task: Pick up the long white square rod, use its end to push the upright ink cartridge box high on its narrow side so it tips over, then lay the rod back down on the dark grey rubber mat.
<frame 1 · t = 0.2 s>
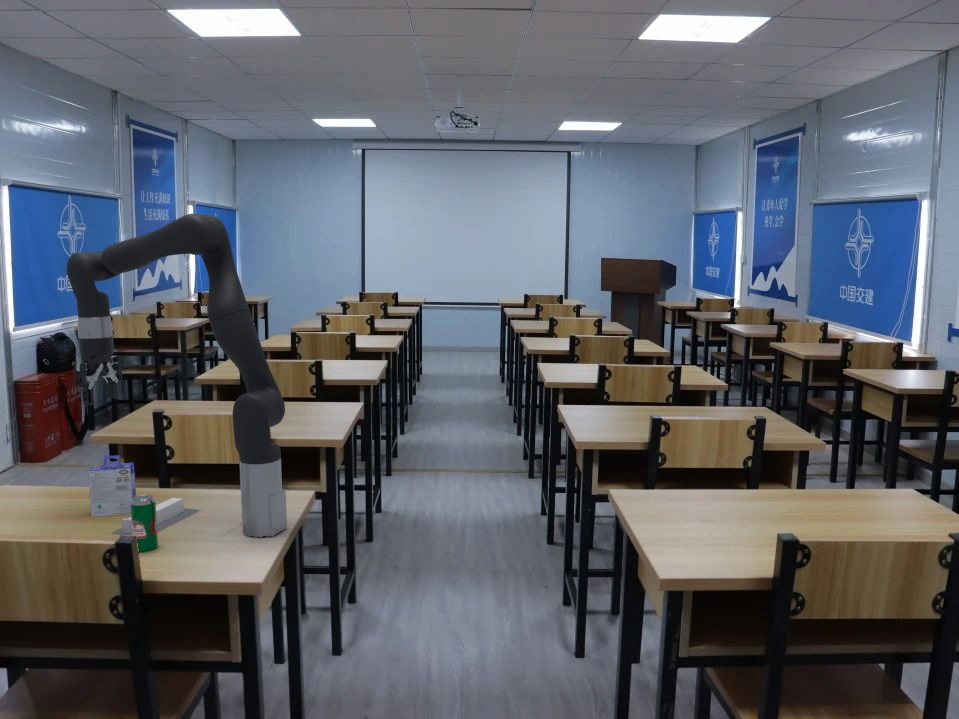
hand: (100, 401, 194), 28 cm above the table, tool pointing down, fingers open, 8 cm apart
white square rod: (157, 521, 190), point 1 cm above the table, touching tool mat
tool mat: (157, 523, 191), on the table
ink cartridge box: (114, 514, 198), on the table
soda can: (146, 551, 174), on the table
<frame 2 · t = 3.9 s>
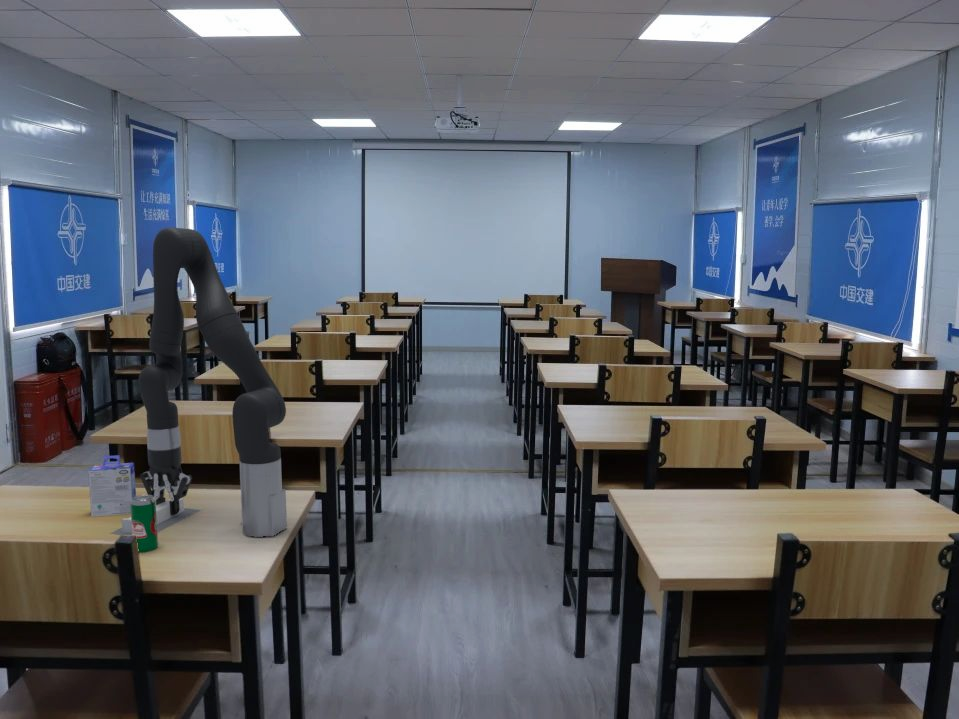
hand: (168, 513, 194), 1 cm above the table, tool pointing down, fingers closed on white square rod, 3 cm apart
white square rod: (157, 521, 190), point 1 cm above the table, touching gripper, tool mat
everything else where it was.
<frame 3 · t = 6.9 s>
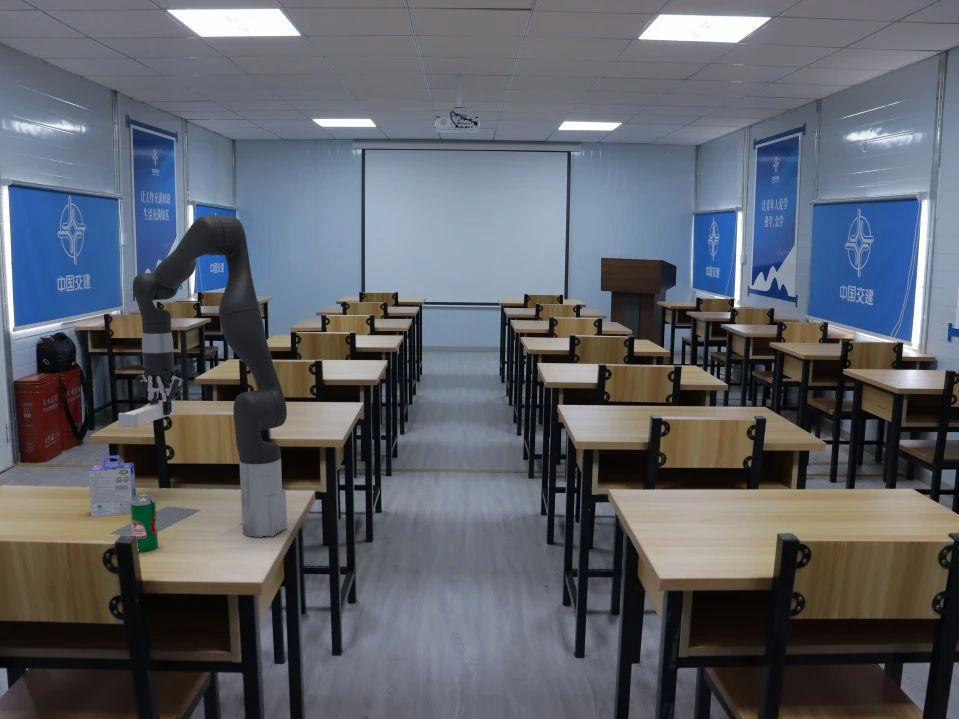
hand: (161, 413, 210), 22 cm above the table, tool pointing down, fingers closed on white square rod, 3 cm apart
white square rod: (151, 419, 206), point 21 cm above the table, touching gripper
everything else where it was.
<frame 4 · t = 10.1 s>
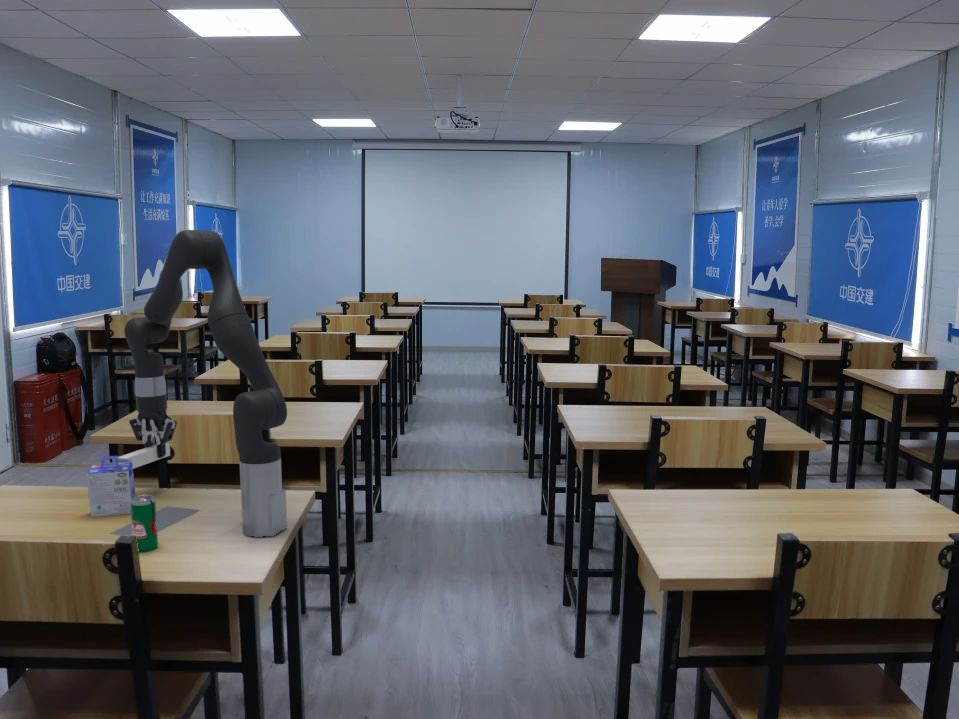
hand: (155, 456, 211), 11 cm above the table, tool pointing down, fingers closed on white square rod, 3 cm apart
white square rod: (145, 462, 207), point 10 cm above the table, touching ink cartridge box, gripper
ink cartridge box: (114, 512, 198), on the table, touching white square rod
everything else where it was.
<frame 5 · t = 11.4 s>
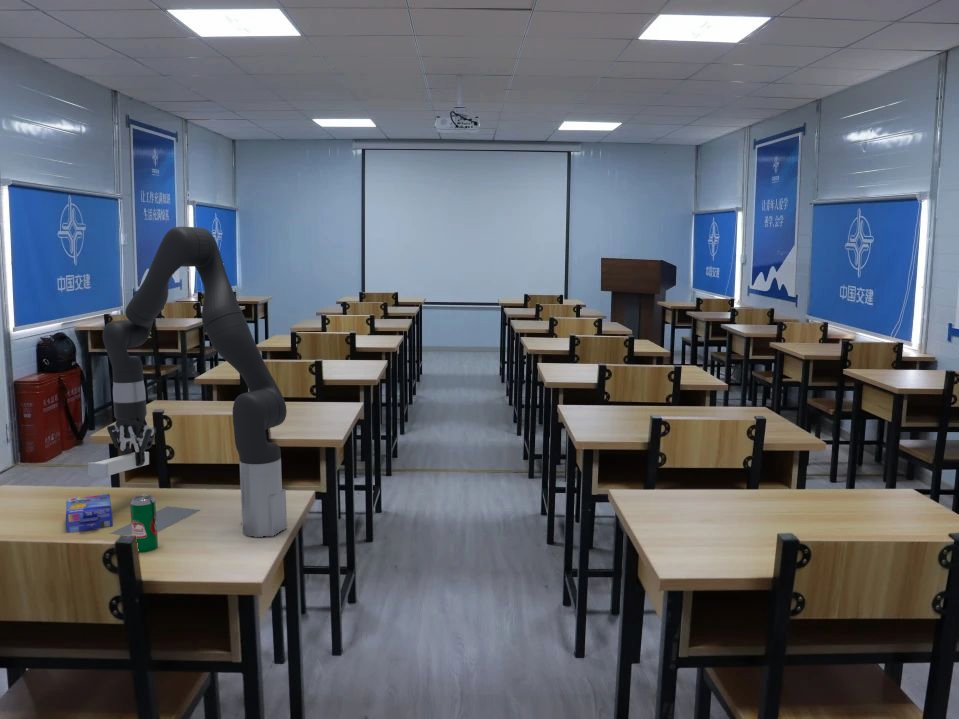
hand: (134, 464, 203), 11 cm above the table, tool pointing down, fingers closed on white square rod, 3 cm apart
white square rod: (122, 469, 199), point 10 cm above the table, touching gripper
ink cartridge box: (88, 505, 195), point 3 cm above the table
everything else where it was.
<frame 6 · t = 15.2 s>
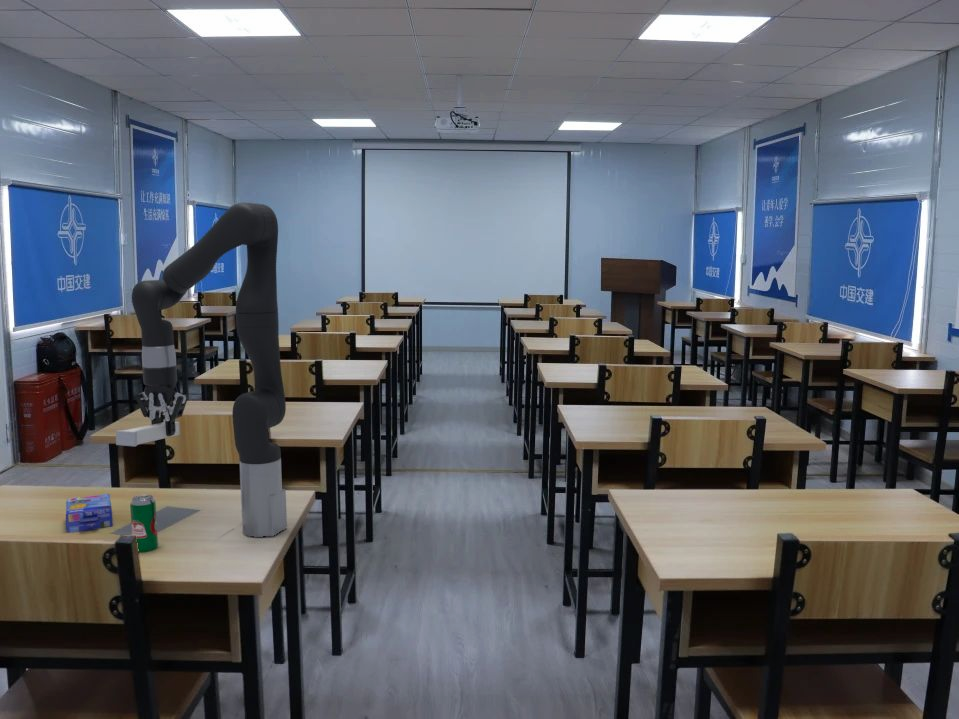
hand: (163, 434, 191), 21 cm above the table, tool pointing down, fingers closed on white square rod, 3 cm apart
white square rod: (152, 439, 187), point 21 cm above the table, touching gripper
everything else where it was.
when the fingers open (3 cm above the table, at t = 19.0 s): white square rod drops 2 cm, resting on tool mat.
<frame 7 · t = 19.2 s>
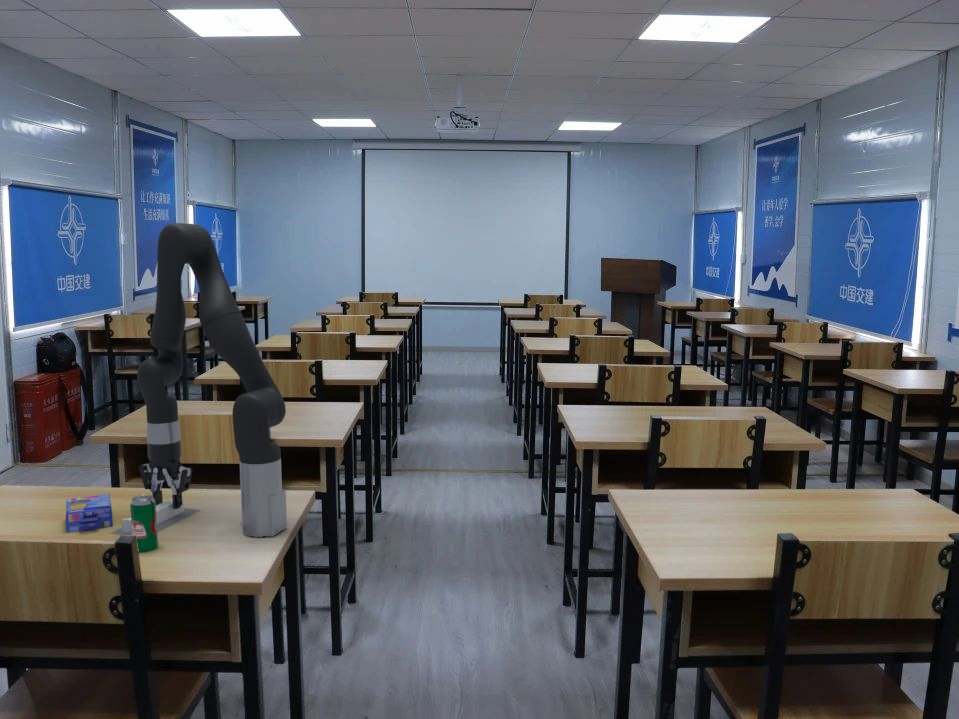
hand: (167, 506, 194), 3 cm above the table, tool pointing down, fingers open, 4 cm apart
white square rod: (157, 521, 190), point 1 cm above the table, touching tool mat
everything else where it was.
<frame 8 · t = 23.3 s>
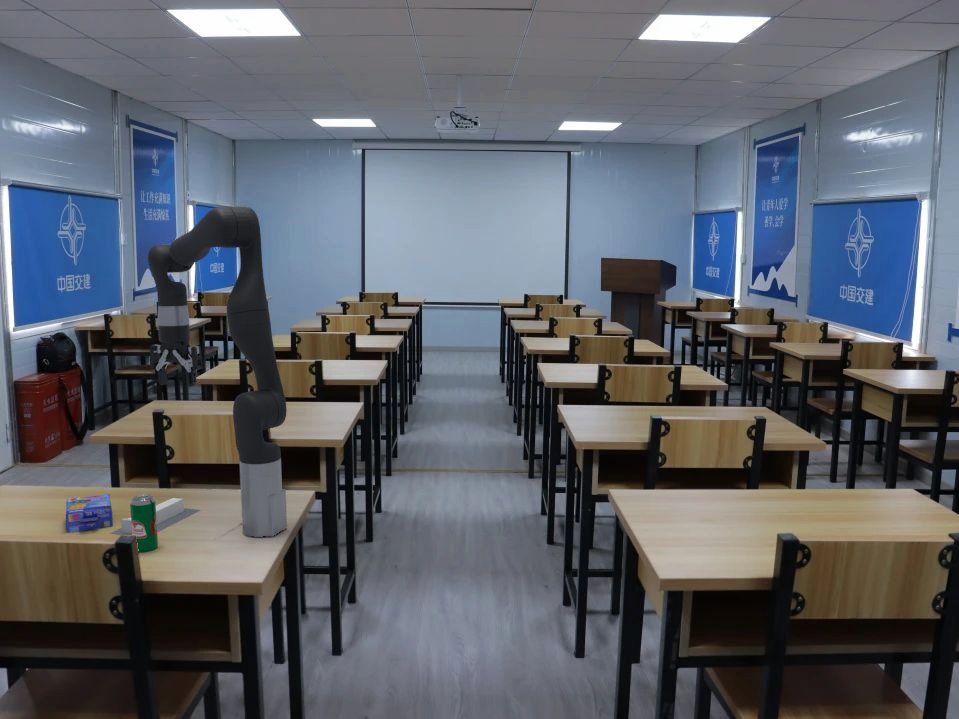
hand: (177, 385, 206), 30 cm above the table, tool pointing down, fingers open, 8 cm apart
nothing on the table moved.
at the end: ink cartridge box tilted 92°; the gripper is holding nothing; white square rod inside the target area (0.1 cm from its centre), point 0.6 cm above the table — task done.
